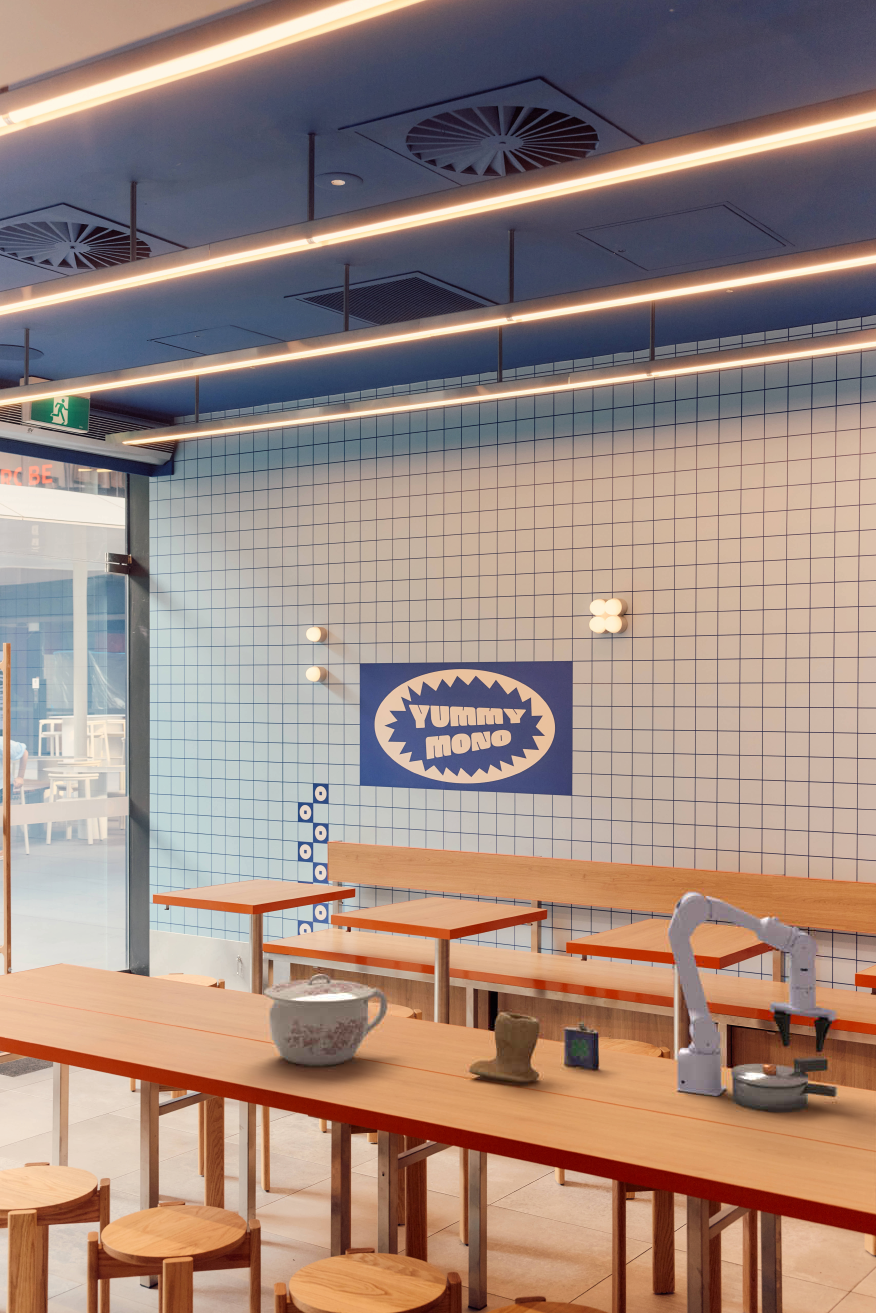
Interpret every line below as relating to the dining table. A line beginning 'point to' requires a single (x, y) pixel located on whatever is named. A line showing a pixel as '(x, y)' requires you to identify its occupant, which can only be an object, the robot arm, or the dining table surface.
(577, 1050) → the flask
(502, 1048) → the brown boot
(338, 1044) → the chamber pot
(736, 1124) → the dining table surface
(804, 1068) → the cooker lid
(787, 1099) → the cooker pot
